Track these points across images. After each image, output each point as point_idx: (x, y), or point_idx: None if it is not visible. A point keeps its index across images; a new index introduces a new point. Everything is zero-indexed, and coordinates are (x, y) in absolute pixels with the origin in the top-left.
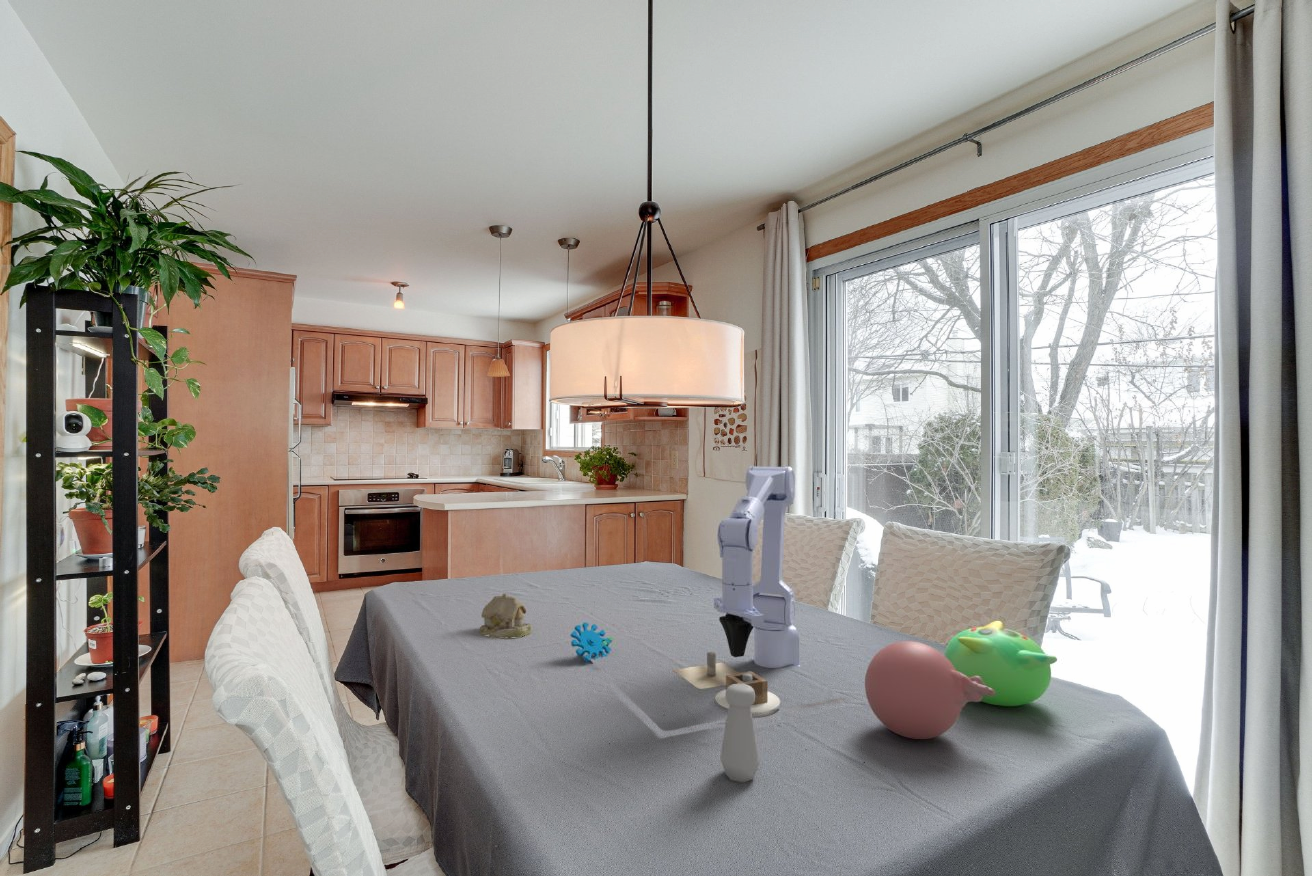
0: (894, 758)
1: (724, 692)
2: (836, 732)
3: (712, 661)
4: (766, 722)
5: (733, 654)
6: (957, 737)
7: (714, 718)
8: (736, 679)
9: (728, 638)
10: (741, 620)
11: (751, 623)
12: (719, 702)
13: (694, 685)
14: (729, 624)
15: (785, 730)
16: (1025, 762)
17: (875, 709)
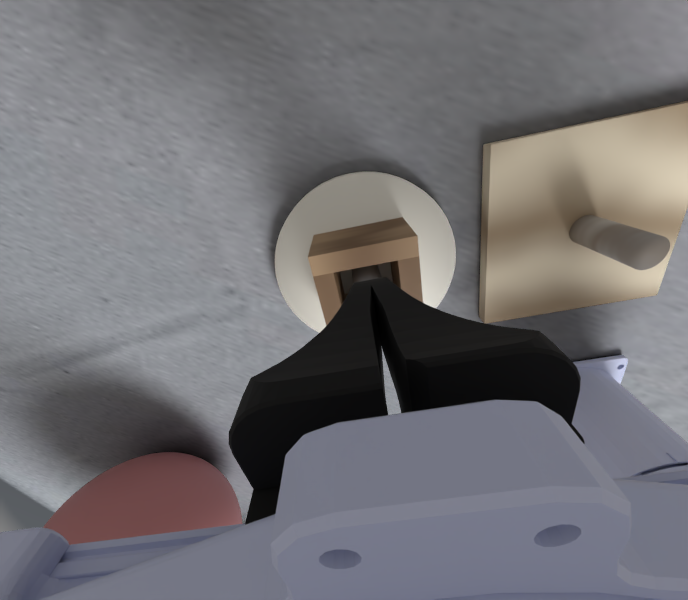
0: (92, 415)
1: (433, 223)
2: (193, 379)
3: (609, 243)
4: (248, 270)
5: (355, 284)
6: None
7: (288, 134)
8: (364, 258)
9: (396, 306)
10: (252, 505)
11: (16, 553)
12: (362, 180)
13: (531, 138)
14: (283, 376)
15: (201, 295)
16: None
17: (130, 471)
